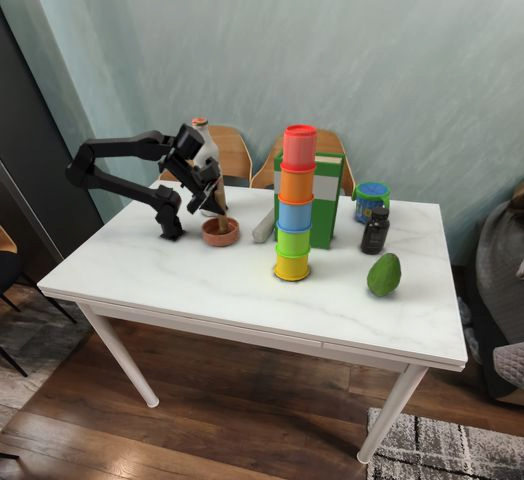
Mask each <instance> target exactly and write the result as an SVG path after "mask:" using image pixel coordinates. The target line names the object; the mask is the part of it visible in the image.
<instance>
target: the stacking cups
mask: <svg viewBox="0 0 524 480" xmlns="http://www.w3.org/2000/svg"><path fill="white" fill-rule="evenodd" d="M317 139H318V132H317V128H316V127H315V126H313V125H309V124H293V125H288V126H286V128H285V131H284V132H283V147H282V149H283V162H282V163H281V164H280V167H281V169H282V171H281V192H280V193H279V195H278V199H279V200H280V204H279V220H278V221H277V227H278V241H277V243H276V244H275V246H274V250H275V252H276V264H275V266H274V268H273V270H274V274H275V275H276V277H278V278H280V279H281V280H284V281H293V282H295V281H300V280H302V279H305V278H306V277H308V275H309V274H310V266H309V253H311V250H312V247H311V246H310V245H309V236H310V229H311V227H312V222H311V208H312V201H313V200H314V194H313V193H312V191H313V179H314V170H315V169H316V164H315V152H317Z"/></svg>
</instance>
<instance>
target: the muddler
mask: <svg viewBox="0 0 524 480" xmlns="http://www.w3.org/2000/svg"><path fill="white" fill-rule="evenodd" d="M224 191H225V190H224ZM224 191H223V190H216V191H215V192H214V193H215V199H216V202H217V203H218V204H219V206H220V207H221V208H222V209H223V210H224V211H225V213H226V214H225V215H224V216H223V215H219V214H218V216H217V217H218V219H219V225H220V227H219V228H218V234H219V235H225V234H228V233H230V232H231V228H230V227H229V226H228V220H227V217H228V214H227V212H228V211H226V205H227V203H226V204H225V198H226V196H225V197H224Z"/></svg>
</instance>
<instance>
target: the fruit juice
mask: <svg viewBox="0 0 524 480" xmlns="http://www.w3.org/2000/svg"><path fill="white" fill-rule="evenodd" d="M191 125H192V126H191V127H192V128H194V129H196V130H197V131H198V132H199V133H200V134H201V135H202V137H203V138H204V140H205V144H204V145H203V147H202V148H201V150H200V151H199V152H198V154H197V155H196V157H195V158H194V160H192V162H193V167H194V166H195V165H197V166H198V167H199V168H202V167H203V166H204V165H206V162H205V161H206V159H207V158H209V157H212V158H213V159H215V160H216V161H217V162H218V163H219V165H218V167H219V169H220V171H221V172H220V174H221V176H220V177H219V179H218V180H217V181H216V182H215V183H214V184H215V185H216V184H217V183H218V182H219V185H218V187H219V190H223V191H224V197H225V203H226V204H227V199H226V191H225V185H224V183H225V182H224V177H223V176H224V175H223V170H222V165H221V163H220V150H219V146H218V145H217V144H216V142H215V141H214V139H213V138H212V136H211V134H210V131H209V120H208V118H207V117H195V118H193V119H192V120H191ZM201 213H202V214H203V215H205V216H207V217H218V214H216V213H213V212H210V211H206V210H202V209H201Z"/></svg>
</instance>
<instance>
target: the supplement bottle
mask: <svg viewBox="0 0 524 480" xmlns="http://www.w3.org/2000/svg"><path fill="white" fill-rule="evenodd" d="M390 213H391V211H390V208H389V209H387V208H385V207H384V206H383V207H375V208H373V209H372V213H371V217H370V218H368V219H367V220H366V223H364V227H363V231H362V232H363V233H362V238H361V242H360V250H361V251H362V252H363V253H365V254H367V255H377V254H380V253H382V251H383V249H384V247H385V245H386V241H387V237H388V233H389V230H390V227H391V222H390V220H389V217H390Z"/></svg>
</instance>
